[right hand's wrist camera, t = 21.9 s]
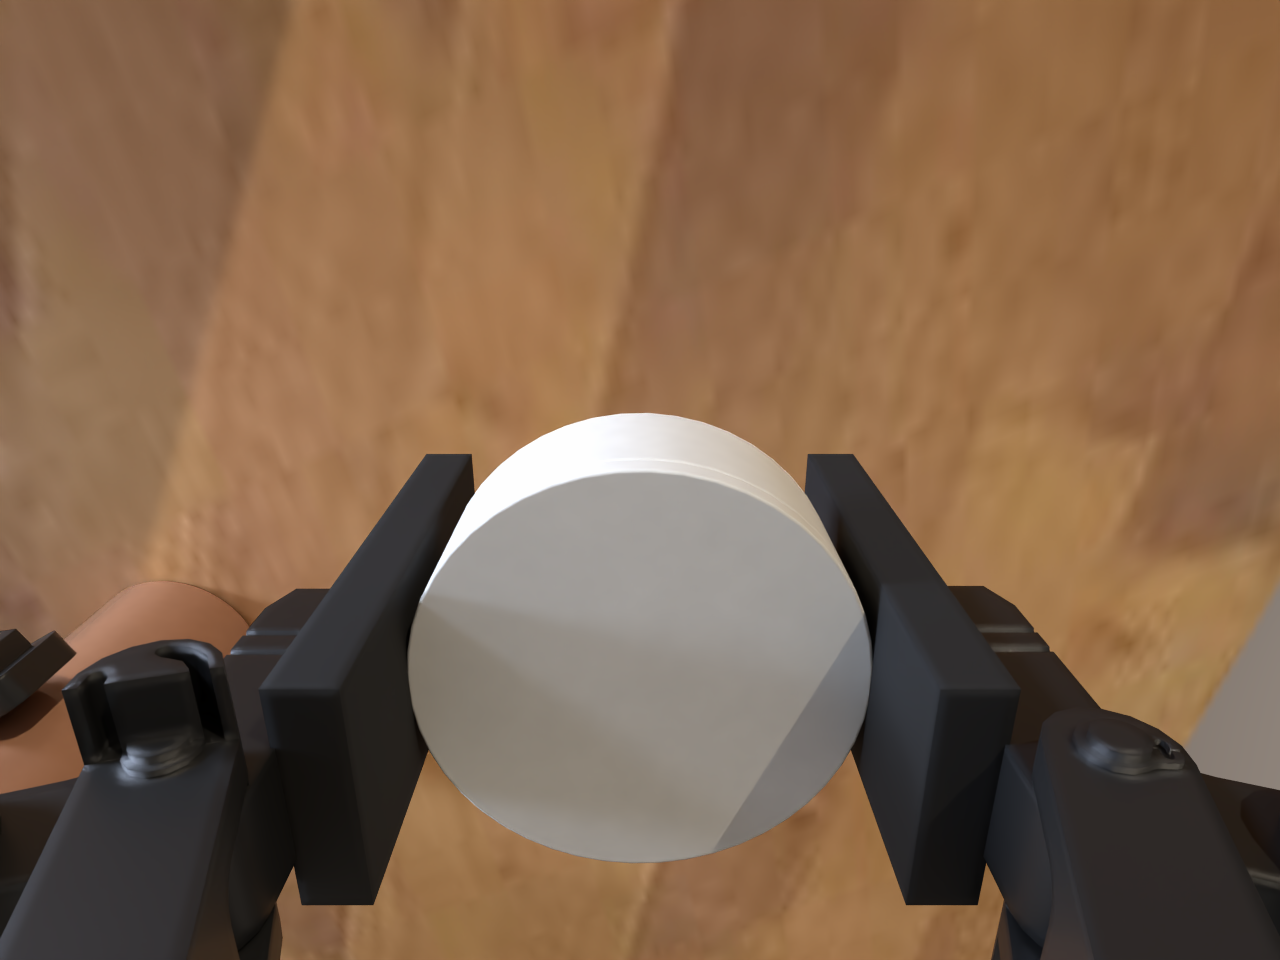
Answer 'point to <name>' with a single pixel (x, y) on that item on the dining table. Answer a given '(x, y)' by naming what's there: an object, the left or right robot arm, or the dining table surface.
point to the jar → (162, 610)
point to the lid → (639, 643)
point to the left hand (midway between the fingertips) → (128, 753)
